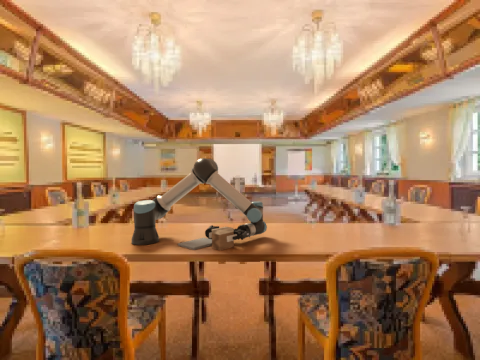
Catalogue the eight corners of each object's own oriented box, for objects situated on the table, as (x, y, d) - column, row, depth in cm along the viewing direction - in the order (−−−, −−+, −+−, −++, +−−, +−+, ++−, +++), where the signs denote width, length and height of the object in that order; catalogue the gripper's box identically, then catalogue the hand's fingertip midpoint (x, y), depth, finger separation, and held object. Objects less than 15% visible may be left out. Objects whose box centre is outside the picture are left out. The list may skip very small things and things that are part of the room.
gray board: (177, 245, 157) (177, 243, 157) (203, 239, 171) (203, 237, 170) (193, 250, 148) (193, 247, 148) (219, 243, 161) (219, 241, 161)
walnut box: (212, 248, 150) (211, 229, 150) (226, 244, 158) (225, 226, 157) (220, 250, 146) (219, 230, 146) (233, 246, 153) (233, 227, 153)
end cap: (208, 235, 181) (208, 225, 181) (219, 235, 180) (219, 225, 180) (205, 239, 171) (204, 228, 171) (216, 239, 170) (216, 228, 170)
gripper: (263, 240, 156) (235, 248, 141) (230, 234, 173) (202, 240, 158) (262, 226, 156) (235, 233, 141) (230, 221, 173) (202, 227, 158)
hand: (218, 237), depth 149 cm, fingers open, 13 cm apart
